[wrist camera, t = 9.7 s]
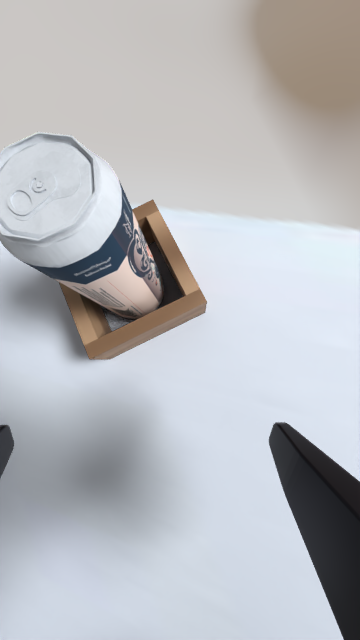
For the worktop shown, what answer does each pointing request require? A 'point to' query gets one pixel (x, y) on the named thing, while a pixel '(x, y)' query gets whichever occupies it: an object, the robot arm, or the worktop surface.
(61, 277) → the beer can
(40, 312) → the worktop surface
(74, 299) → the socket block
